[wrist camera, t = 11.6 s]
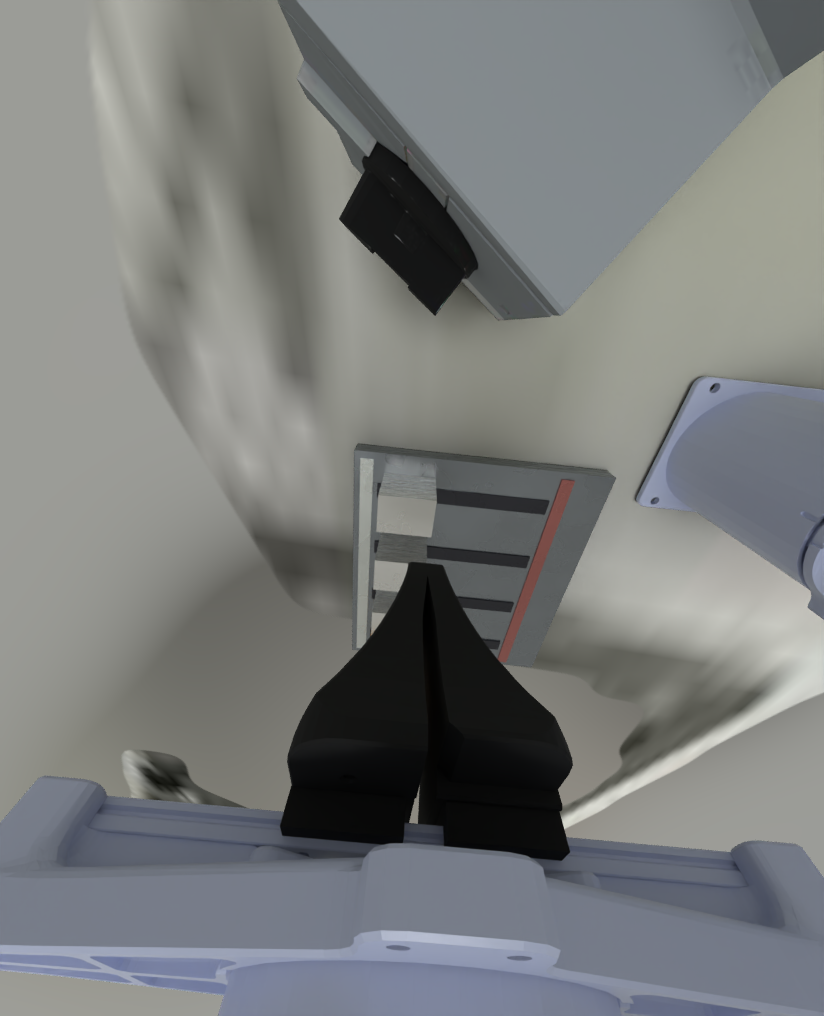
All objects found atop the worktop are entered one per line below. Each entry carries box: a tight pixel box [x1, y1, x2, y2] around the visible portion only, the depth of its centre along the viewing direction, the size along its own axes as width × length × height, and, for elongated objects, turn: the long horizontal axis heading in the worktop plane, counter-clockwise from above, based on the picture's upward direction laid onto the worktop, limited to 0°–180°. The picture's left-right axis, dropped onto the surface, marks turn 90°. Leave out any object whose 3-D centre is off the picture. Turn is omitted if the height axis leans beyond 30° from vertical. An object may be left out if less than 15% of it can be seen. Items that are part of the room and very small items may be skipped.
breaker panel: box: [352, 444, 616, 667], centre depth 23 cm, size 16×18×4 cm
